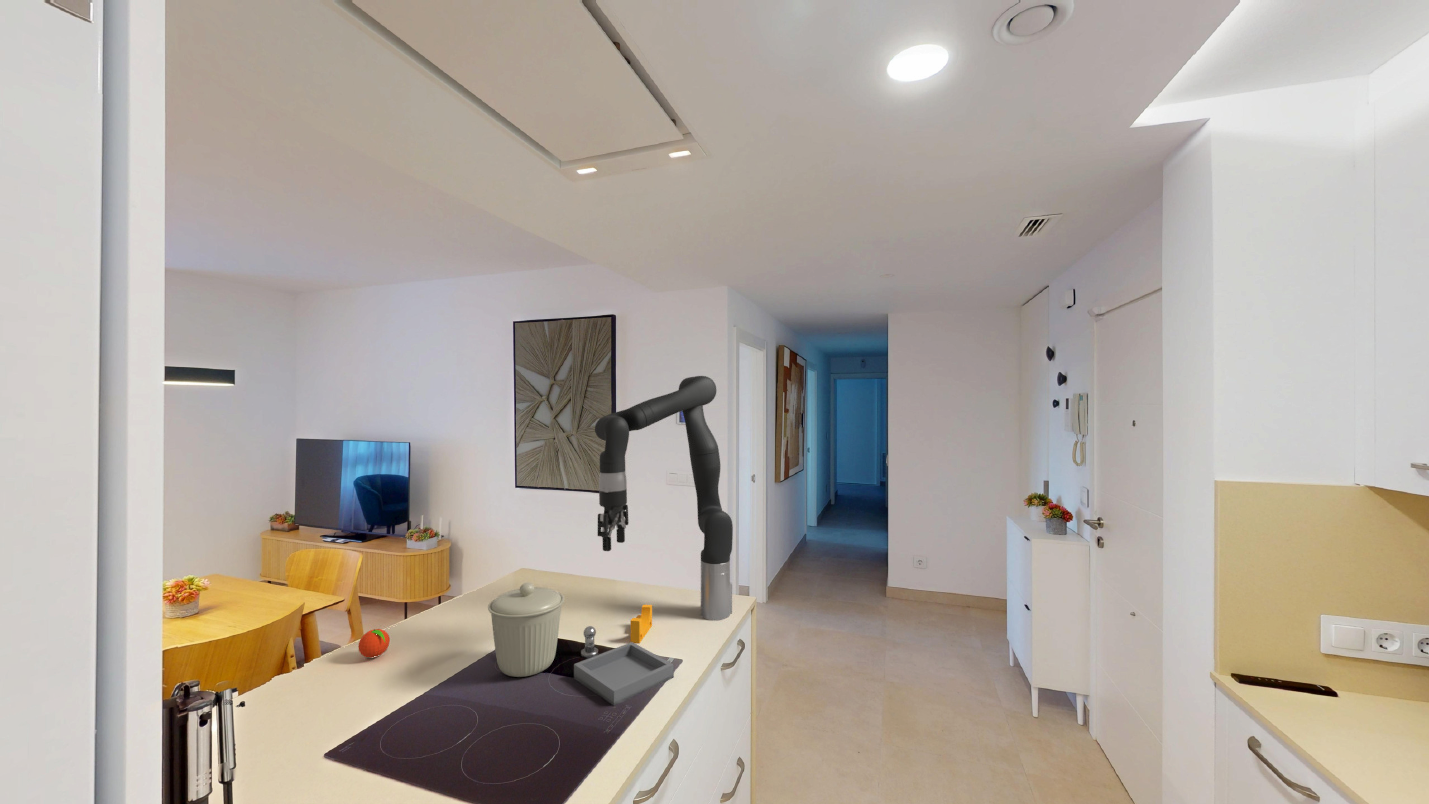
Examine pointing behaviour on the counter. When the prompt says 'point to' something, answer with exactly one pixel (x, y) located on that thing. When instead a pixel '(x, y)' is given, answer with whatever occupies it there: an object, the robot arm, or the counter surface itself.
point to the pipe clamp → (641, 624)
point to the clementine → (374, 643)
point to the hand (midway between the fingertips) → (614, 546)
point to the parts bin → (623, 672)
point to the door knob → (589, 643)
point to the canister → (526, 629)
